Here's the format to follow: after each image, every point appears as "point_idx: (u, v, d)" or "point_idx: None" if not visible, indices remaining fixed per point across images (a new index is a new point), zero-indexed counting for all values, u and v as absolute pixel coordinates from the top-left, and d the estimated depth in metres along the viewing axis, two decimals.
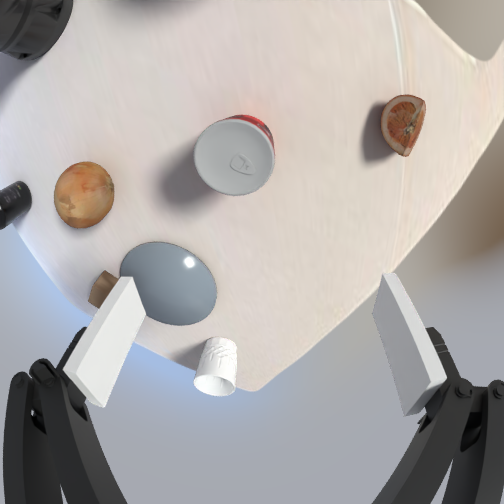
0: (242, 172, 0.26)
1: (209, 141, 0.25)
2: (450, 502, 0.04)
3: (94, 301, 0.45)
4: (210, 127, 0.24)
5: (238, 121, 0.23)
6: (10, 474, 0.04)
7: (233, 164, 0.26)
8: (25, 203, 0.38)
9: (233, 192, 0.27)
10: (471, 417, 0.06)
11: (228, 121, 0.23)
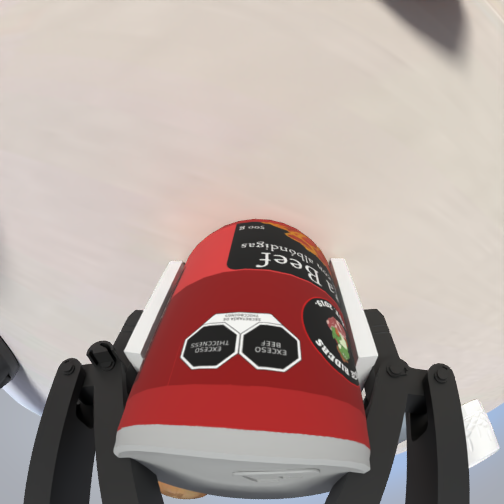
0: (294, 479, 0.06)
1: (165, 472, 0.07)
2: (414, 493, 0.05)
3: None
4: None
5: (122, 448, 0.05)
6: (39, 465, 0.05)
7: (255, 481, 0.06)
8: None
9: (320, 491, 0.07)
10: (410, 400, 0.08)
11: (117, 452, 0.05)
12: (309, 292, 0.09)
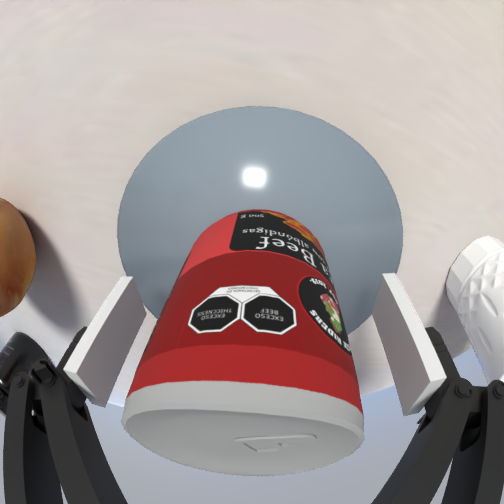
0: (292, 448, 0.07)
1: (169, 446, 0.08)
2: (450, 502, 0.04)
3: None
4: (132, 437, 0.07)
5: (131, 412, 0.06)
6: (10, 474, 0.04)
7: (255, 451, 0.07)
8: (26, 352, 0.25)
9: (318, 465, 0.08)
10: (471, 417, 0.06)
11: (125, 420, 0.06)
12: (304, 270, 0.10)
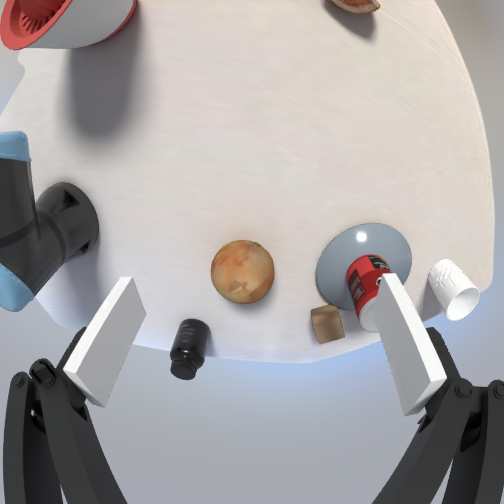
0: None
1: (366, 319, 0.37)
2: (450, 502, 0.04)
3: (324, 339, 0.49)
4: (361, 316, 0.36)
5: (372, 303, 0.35)
6: (10, 474, 0.04)
7: None
8: (203, 330, 0.53)
9: None
10: (471, 417, 0.06)
11: (367, 307, 0.35)
12: None
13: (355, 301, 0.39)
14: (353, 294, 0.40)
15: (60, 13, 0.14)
